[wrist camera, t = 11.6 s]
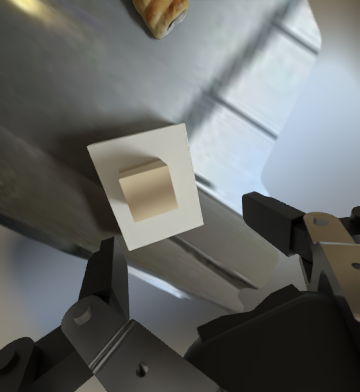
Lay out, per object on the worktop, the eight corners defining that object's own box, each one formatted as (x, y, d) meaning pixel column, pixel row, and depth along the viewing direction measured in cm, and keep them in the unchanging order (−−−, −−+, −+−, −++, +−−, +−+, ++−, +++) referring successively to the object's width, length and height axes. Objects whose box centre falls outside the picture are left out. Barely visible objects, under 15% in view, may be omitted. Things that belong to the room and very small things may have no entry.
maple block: (119, 168, 26) (118, 179, 21) (159, 157, 27) (167, 165, 22) (132, 204, 29) (134, 222, 23) (168, 193, 30) (178, 208, 24)
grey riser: (92, 143, 29) (86, 146, 24) (175, 123, 31) (184, 123, 27) (128, 235, 36) (129, 250, 31) (194, 213, 38) (203, 224, 34)
